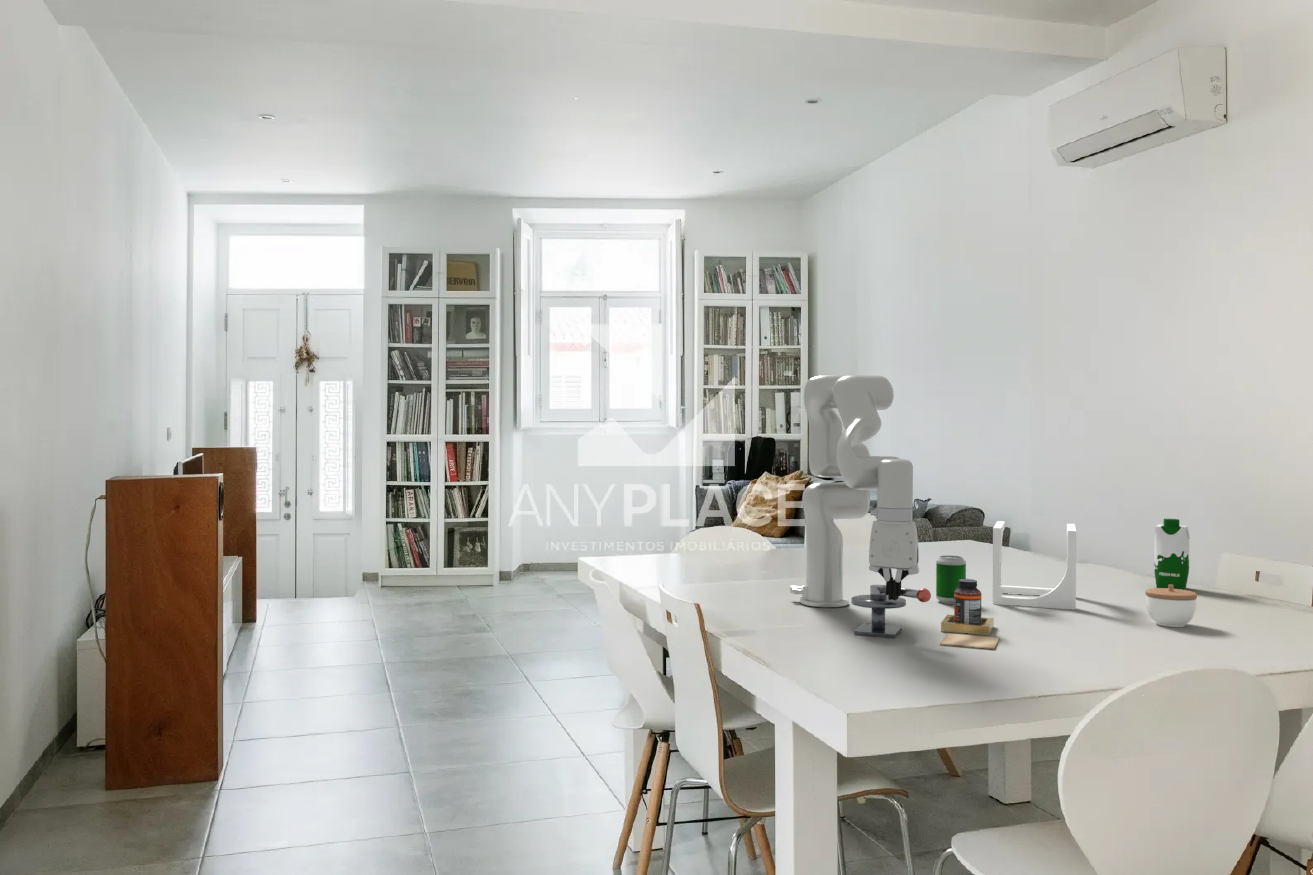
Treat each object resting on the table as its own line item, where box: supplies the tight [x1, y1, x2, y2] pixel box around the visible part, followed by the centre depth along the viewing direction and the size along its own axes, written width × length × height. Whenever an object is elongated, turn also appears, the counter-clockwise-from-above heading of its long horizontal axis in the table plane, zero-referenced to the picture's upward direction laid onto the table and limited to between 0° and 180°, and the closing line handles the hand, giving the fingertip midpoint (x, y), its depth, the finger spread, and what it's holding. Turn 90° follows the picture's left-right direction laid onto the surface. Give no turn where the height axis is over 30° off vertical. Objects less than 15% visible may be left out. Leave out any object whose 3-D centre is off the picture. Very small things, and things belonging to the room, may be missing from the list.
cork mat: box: [939, 632, 1000, 651], centre depth 212 cm, size 11×11×1 cm
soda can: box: [935, 555, 967, 605], centre depth 260 cm, size 8×8×12 cm
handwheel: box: [850, 584, 932, 610], centre depth 219 cm, size 20×12×5 cm, turn 40°
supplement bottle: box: [953, 578, 982, 625], centre depth 225 cm, size 6×6×11 cm
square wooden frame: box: [940, 614, 995, 636], centre depth 226 cm, size 10×10×2 cm
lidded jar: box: [1145, 585, 1198, 628], centre depth 231 cm, size 11×11×9 cm
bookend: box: [992, 520, 1077, 610], centre depth 263 cm, size 20×20×20 cm
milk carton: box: [1153, 518, 1190, 590], centre depth 282 cm, size 9×9×20 cm
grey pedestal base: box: [853, 608, 903, 639], centre depth 222 cm, size 9×9×6 cm
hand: (893, 598), depth 215 cm, fingers closed
